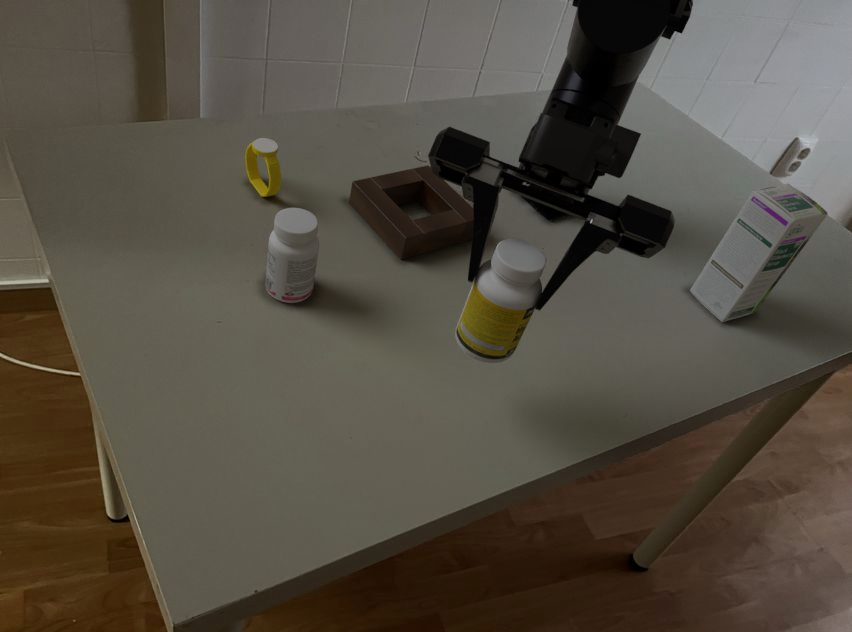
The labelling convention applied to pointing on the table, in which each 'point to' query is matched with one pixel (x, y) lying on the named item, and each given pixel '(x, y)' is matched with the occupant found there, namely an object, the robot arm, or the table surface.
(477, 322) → the supplement bottle
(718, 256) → the syrup box
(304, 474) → the table surface
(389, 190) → the socket block
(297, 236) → the pill bottle
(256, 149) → the watch
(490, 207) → the robot arm
